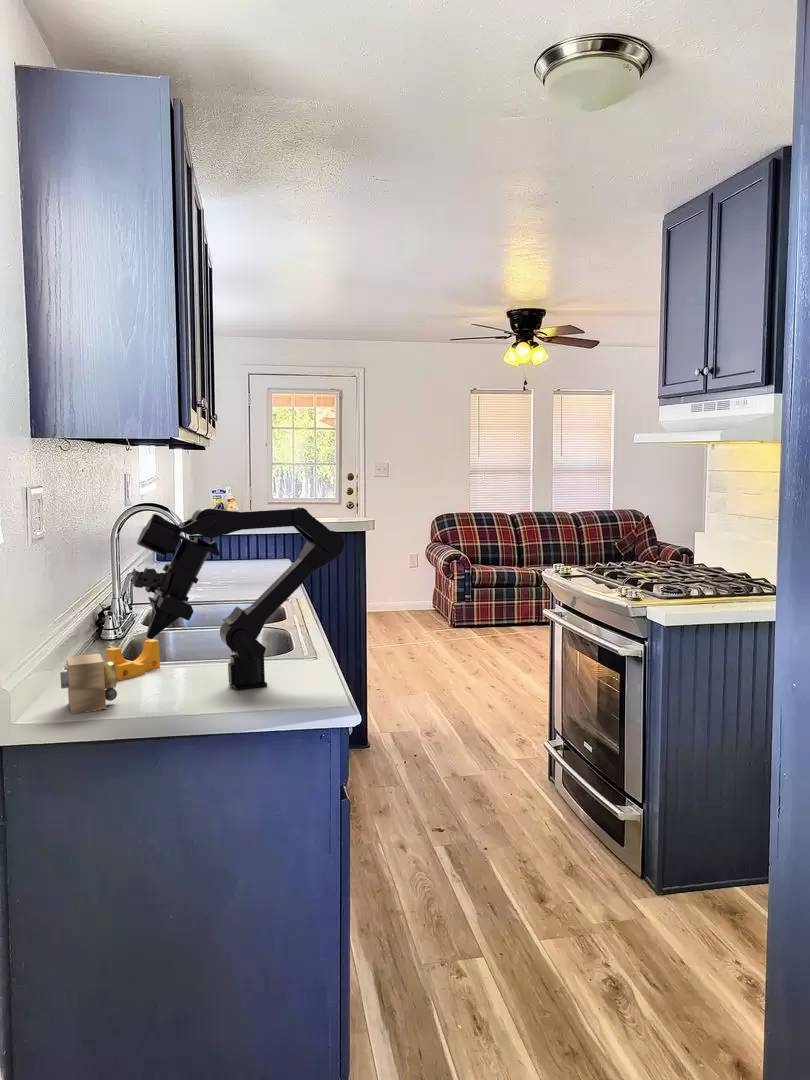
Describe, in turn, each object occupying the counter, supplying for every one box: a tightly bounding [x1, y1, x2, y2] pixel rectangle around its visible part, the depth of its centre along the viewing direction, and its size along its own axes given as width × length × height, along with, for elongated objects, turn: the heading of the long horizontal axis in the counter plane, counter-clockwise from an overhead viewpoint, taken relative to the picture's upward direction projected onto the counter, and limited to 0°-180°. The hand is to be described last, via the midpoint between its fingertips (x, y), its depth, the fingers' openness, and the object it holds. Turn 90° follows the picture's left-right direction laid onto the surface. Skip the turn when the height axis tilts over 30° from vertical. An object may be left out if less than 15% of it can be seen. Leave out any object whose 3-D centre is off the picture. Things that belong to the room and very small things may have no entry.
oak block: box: [66, 653, 107, 715], centre depth 157 cm, size 6×8×9 cm
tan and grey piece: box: [59, 661, 118, 702], centre depth 157 cm, size 10×5×7 cm, turn 115°
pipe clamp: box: [105, 638, 161, 681], centre depth 183 cm, size 12×4×6 cm, turn 145°
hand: (148, 638), depth 163 cm, fingers closed
